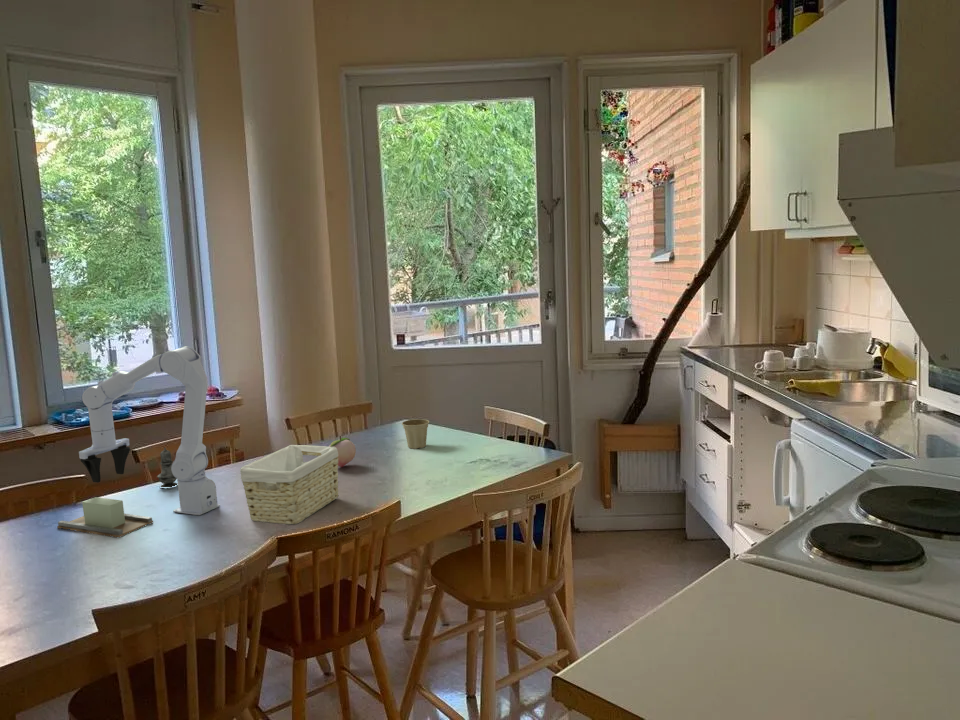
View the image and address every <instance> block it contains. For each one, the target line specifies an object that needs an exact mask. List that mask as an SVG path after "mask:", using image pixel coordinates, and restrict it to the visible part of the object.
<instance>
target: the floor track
mask: <svg viewBox="0 0 960 720" xmlns="http://www.w3.org/2000/svg"><path fill="white" fill-rule="evenodd" d="M124 516H125V523H124V524H121V525H119V526H116V527H114V528H108V527H102V526H95V525H89V524H85V519H84V515H83V516H79V517H78V518H75V519H72V520H70V521H67V520H60V521H58V522H57V529H61V528H63V529H62V530H67V529H70V530H69V531H73V530H76V531H75V532H79V531H81V533H86V532H87V534H92V533H93V534H92V535H99V536H104V535H105V537H111V536H113V537H112V538H117V537H119V538H121V537H123V536H125V534H126V535H128V534H130V533H132V531H133V532H135V531H137V530H139V529H138V528H140V529H142V528H144V527H146V526H145V525H147V524H149V525H151V524H153V523H154V520H153V518H152V517H151V516H143V515H138V514H131V513H124ZM152 522H153V523H152ZM150 523H151V524H150ZM143 526H144V527H143ZM147 526H148V525H147ZM141 527H142V528H141ZM136 529H137V530H136ZM134 530H135V531H134ZM129 532H130V533H129ZM127 533H128V534H127ZM120 536H121V537H120Z"/></svg>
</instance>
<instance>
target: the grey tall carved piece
mask: <svg viewBox="0 0 960 720" xmlns="http://www.w3.org/2000/svg"><path fill="white" fill-rule="evenodd" d="M173 462H174V460H172V454H171V451H170V450H168V449H167V447H164V448H163V450H162V451H160V463H159V465H160V466H161V472H160V473H159V474H158V475H157V478H158V480H159V482H160V483H161V485H160V486H161V487H172V486H175V485H177V484H178V482H176V481H177V478H175V477H174V475H173V474H172V470H171V467H172V464H173ZM162 484H163V485H162Z"/></svg>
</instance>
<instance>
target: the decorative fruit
mask: <svg viewBox="0 0 960 720" xmlns="http://www.w3.org/2000/svg"><path fill="white" fill-rule="evenodd" d="M328 447H336V448H337V451H338V467H340V468H343V467H345V466H346V465H347V464H349V463H350V462H351V461H353V460H354V458H355V456H356V452H357V451H356V450H357V449H356V445H355V444H354V443H353V441H351V439H350V438H348V437H342V435H340V436H339V438H338V439H336V440H334V441H332V442H331V443H330V444H329V446H328Z"/></svg>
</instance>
